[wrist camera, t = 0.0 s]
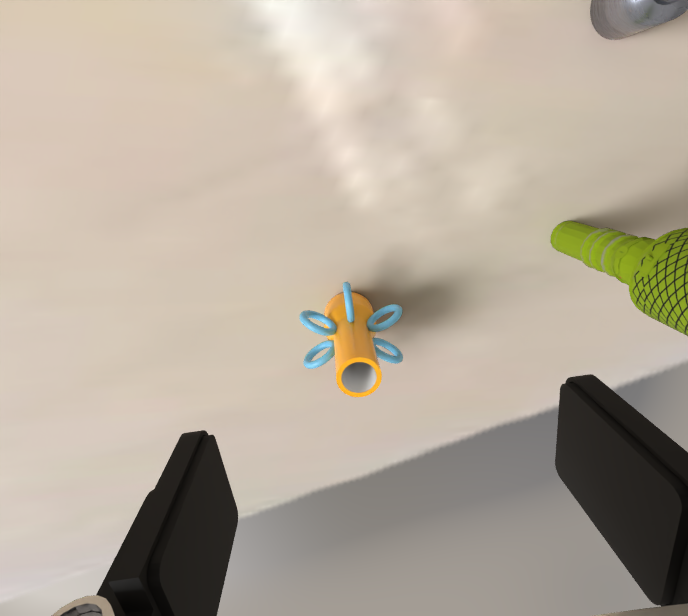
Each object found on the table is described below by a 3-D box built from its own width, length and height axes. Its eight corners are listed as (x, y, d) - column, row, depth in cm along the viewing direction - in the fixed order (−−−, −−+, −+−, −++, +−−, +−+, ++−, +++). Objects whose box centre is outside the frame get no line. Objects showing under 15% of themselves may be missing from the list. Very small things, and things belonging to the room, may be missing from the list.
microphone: (611, 220, 47) (894, 287, 24) (572, 277, 49) (795, 389, 26) (555, 190, 46) (800, 230, 22) (518, 250, 48) (704, 344, 25)
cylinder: (412, 296, 49) (448, 353, 35) (373, 365, 52) (392, 443, 39) (320, 255, 47) (320, 299, 33) (286, 330, 50) (272, 399, 36)
